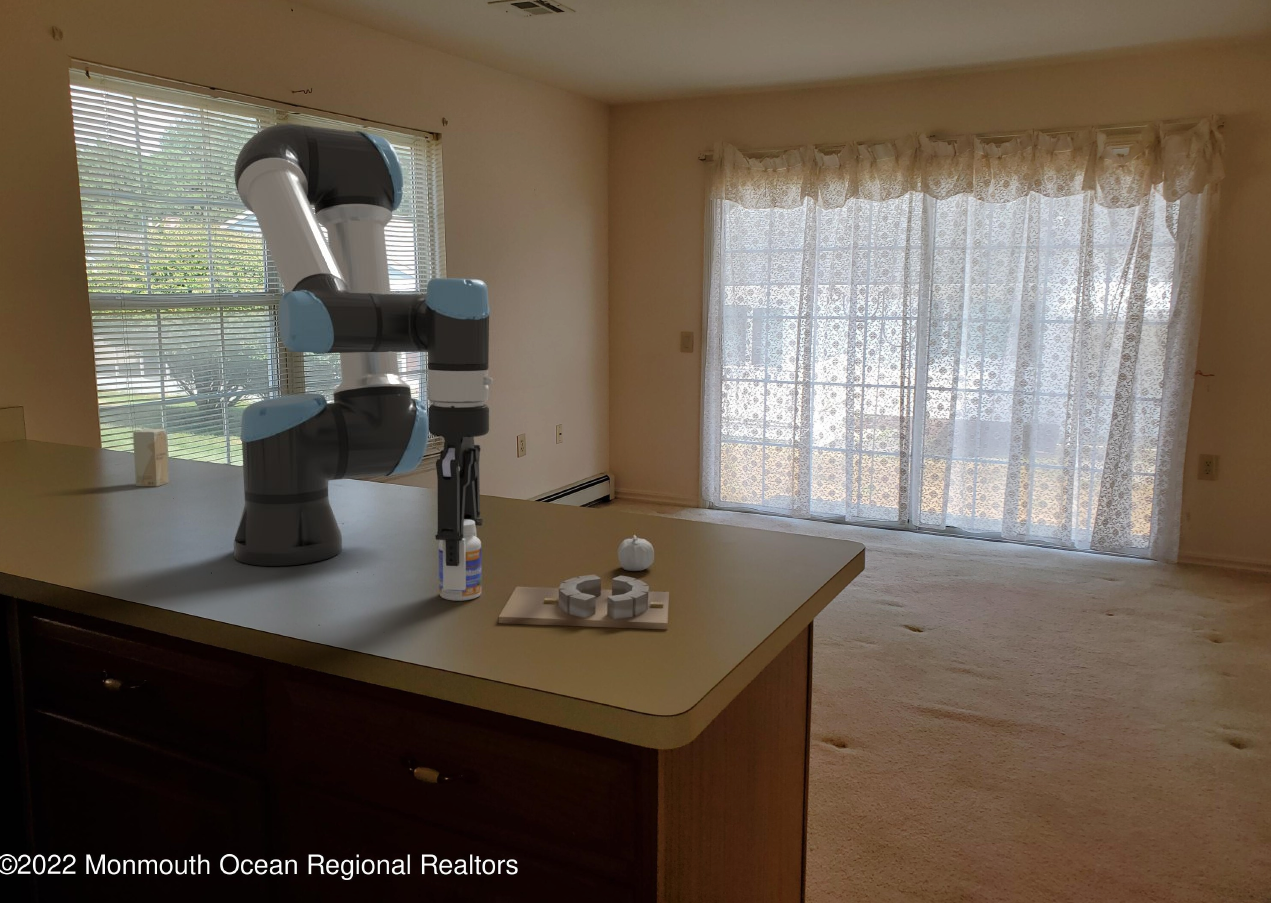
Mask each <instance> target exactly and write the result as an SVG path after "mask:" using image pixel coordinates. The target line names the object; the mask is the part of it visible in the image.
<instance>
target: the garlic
mask: <svg viewBox="0 0 1271 903" xmlns="http://www.w3.org/2000/svg"><path fill="white" fill-rule="evenodd" d="M617 557H618V560H619V564H620V566H621V567H622V569H624V570H625V571H629V572H640V571H643V570H646V569H648V568H649V567H650V566H651V565H652V564H653V563H654V562H655V561H654V560H655V549H654V547H653V544H652V543H650V542H649V540H647V539H645V538H639V537H637V536H636V534H634V535H633V537H632V538H625V539H624V540H623V541H622V542H621V544H620V545H619V546H618V550H617Z"/></svg>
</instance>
